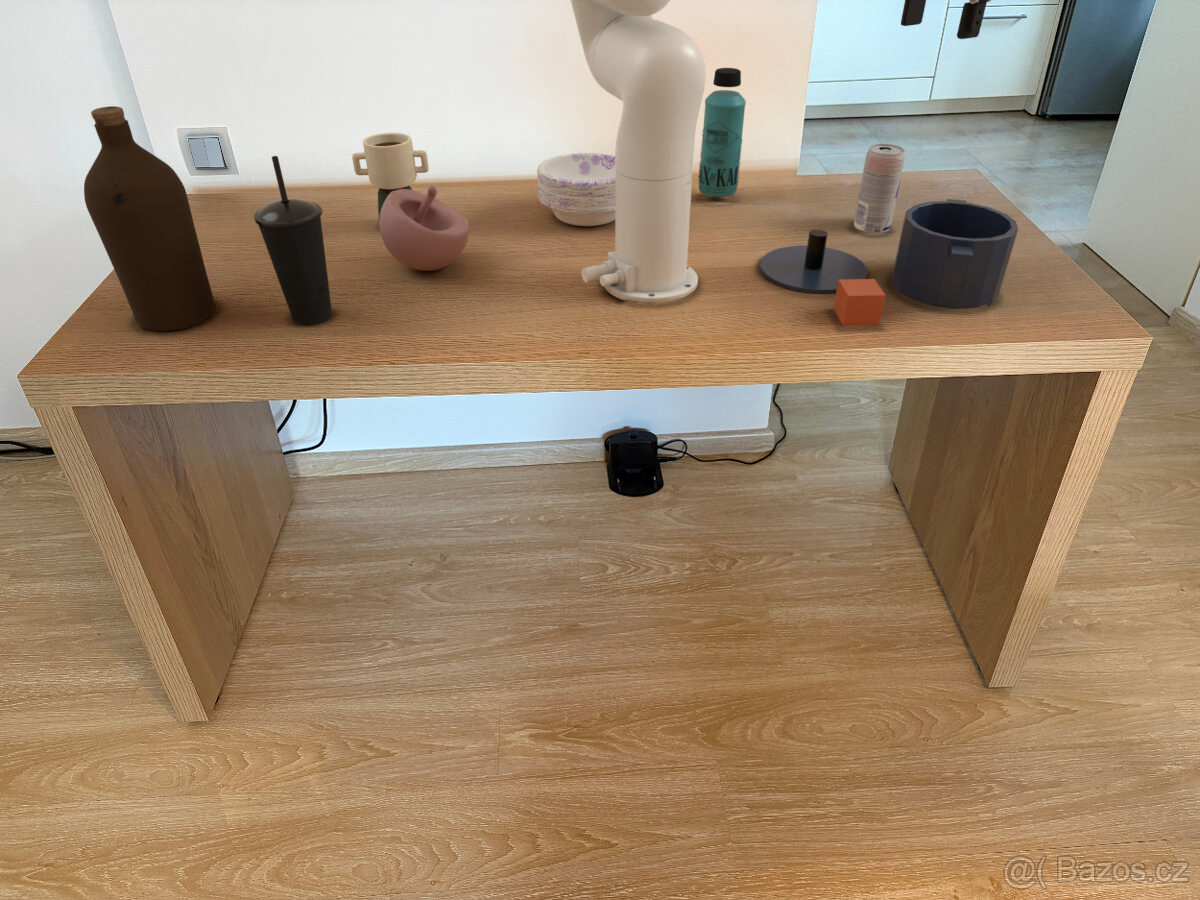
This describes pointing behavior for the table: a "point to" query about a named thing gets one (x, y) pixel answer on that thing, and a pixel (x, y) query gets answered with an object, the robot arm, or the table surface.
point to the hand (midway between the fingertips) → (938, 31)
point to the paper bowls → (579, 188)
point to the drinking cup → (297, 253)
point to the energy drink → (879, 188)
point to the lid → (811, 266)
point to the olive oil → (146, 229)
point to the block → (859, 302)
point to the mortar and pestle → (422, 229)
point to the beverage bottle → (722, 136)
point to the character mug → (390, 163)
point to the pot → (953, 254)
